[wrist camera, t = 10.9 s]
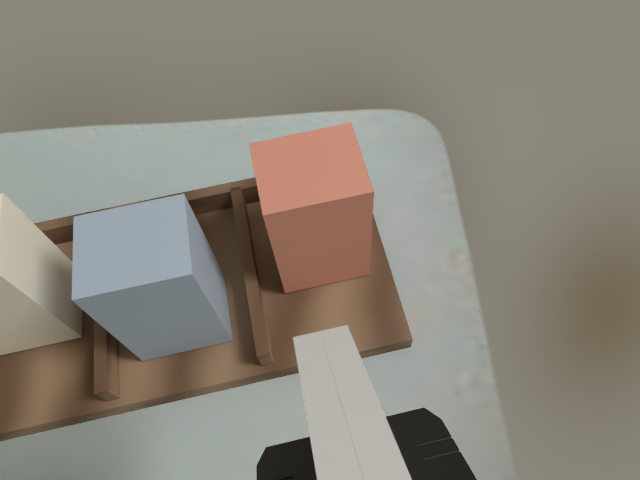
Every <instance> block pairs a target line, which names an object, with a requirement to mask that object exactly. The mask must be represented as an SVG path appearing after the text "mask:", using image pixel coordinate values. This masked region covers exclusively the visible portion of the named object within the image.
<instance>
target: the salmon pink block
mask: <svg viewBox="0 0 640 480" xmlns="http://www.w3.org/2000/svg"><path fill="white" fill-rule="evenodd" d="M249 146H250V151H251V157H252V162H253V167H254V172H255V178H256V183H257V188H258V193H259V199H260V204H261V209H262V214H263V218H264V222H265V225H266V229H267V232H268V236H269V239H270V243H271V246H272V250H273V253H274V257H275V260H276V264H277V267H278V271H279V274H280V278H281V281H282V285H283V288H284V292H285V293H289V292H293V291H298V290H302V289H307V288H311V287H316V286H320V285H325V284H329V283H334V282H338V281H343V280H348V279H352V278H357V277H361V276H366V275H370V260H371V239H372V218H373V196H374V191H373V188H372V185H371V182H370V179H369V176H368V173H367V170H366V166H365V163H364V160H363V157H362V154H361V151H360V148H359V145H358V142H357V139H356V136H355V133H354V130H353V127H352V123H347V124H342V125H337V126H332V127H328V128H323V129H318V130H313V131H308V132H303V133H298V134H293V135H289V136H284V137H279V138H274V139H269V140H264V141H259V142H255V143H250V144H249Z"/></svg>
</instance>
